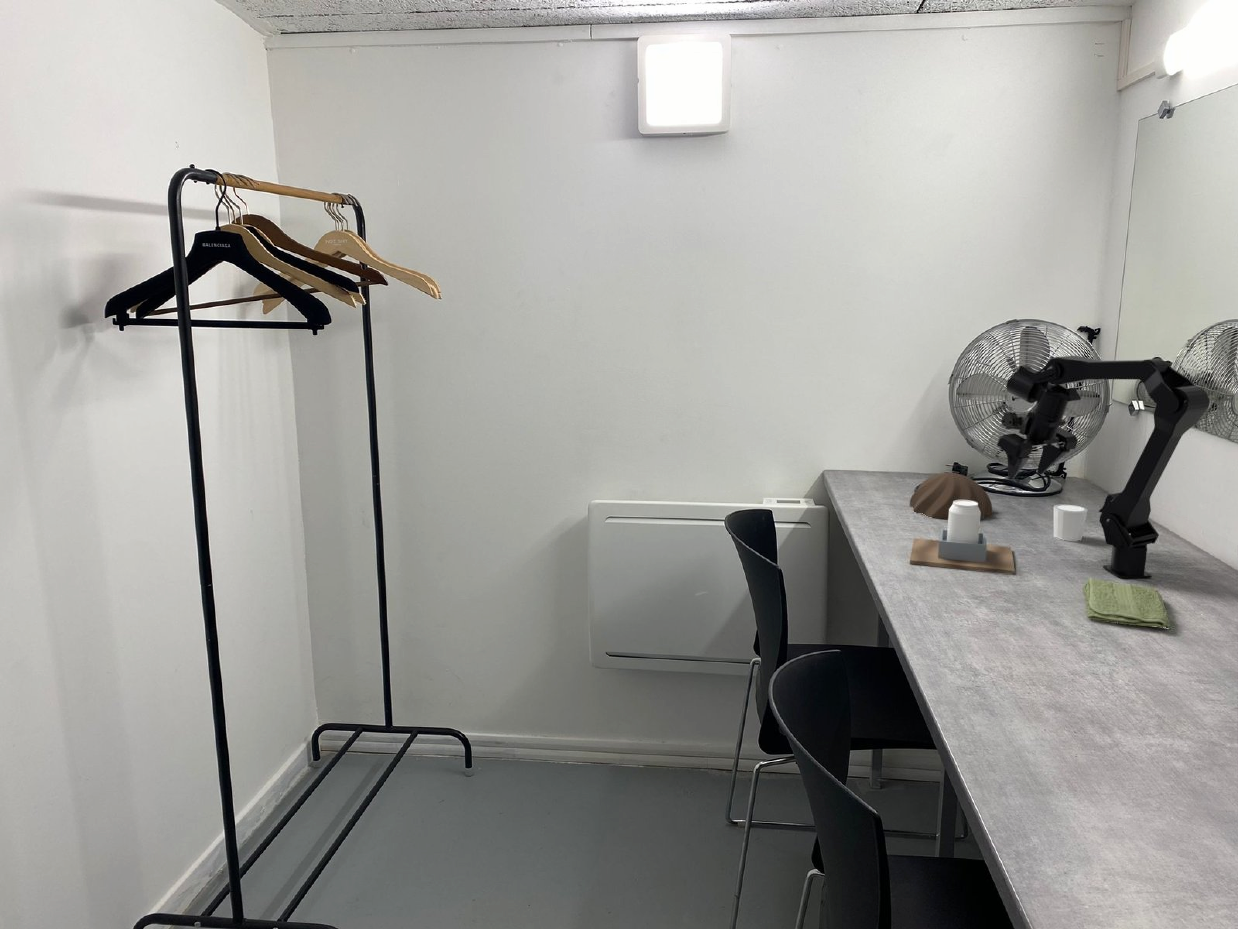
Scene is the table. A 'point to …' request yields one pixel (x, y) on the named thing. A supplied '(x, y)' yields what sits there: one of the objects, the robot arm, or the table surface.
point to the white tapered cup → (1069, 522)
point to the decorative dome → (948, 495)
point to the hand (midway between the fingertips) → (1025, 475)
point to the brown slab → (995, 560)
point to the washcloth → (1124, 604)
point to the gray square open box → (962, 548)
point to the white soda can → (964, 522)
